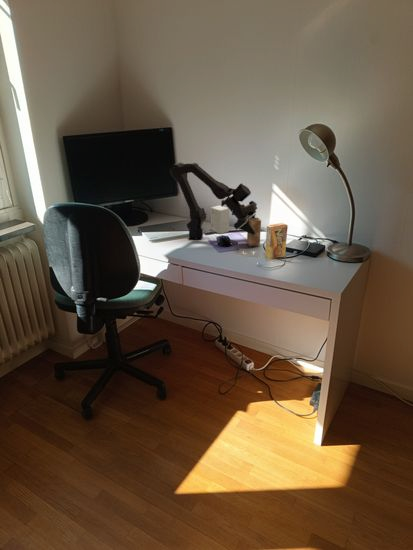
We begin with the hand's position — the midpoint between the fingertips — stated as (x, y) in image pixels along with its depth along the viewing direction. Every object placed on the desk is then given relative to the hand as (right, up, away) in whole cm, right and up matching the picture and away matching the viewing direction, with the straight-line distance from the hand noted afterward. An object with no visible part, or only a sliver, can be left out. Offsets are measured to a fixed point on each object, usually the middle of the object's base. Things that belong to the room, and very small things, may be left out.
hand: (256, 231), depth 203 cm
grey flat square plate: (-4, -11, -5) cm, 13 cm away
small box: (-17, +3, +24) cm, 30 cm away
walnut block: (-1, -5, +3) cm, 6 cm away
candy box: (+8, -13, -9) cm, 17 cm away
